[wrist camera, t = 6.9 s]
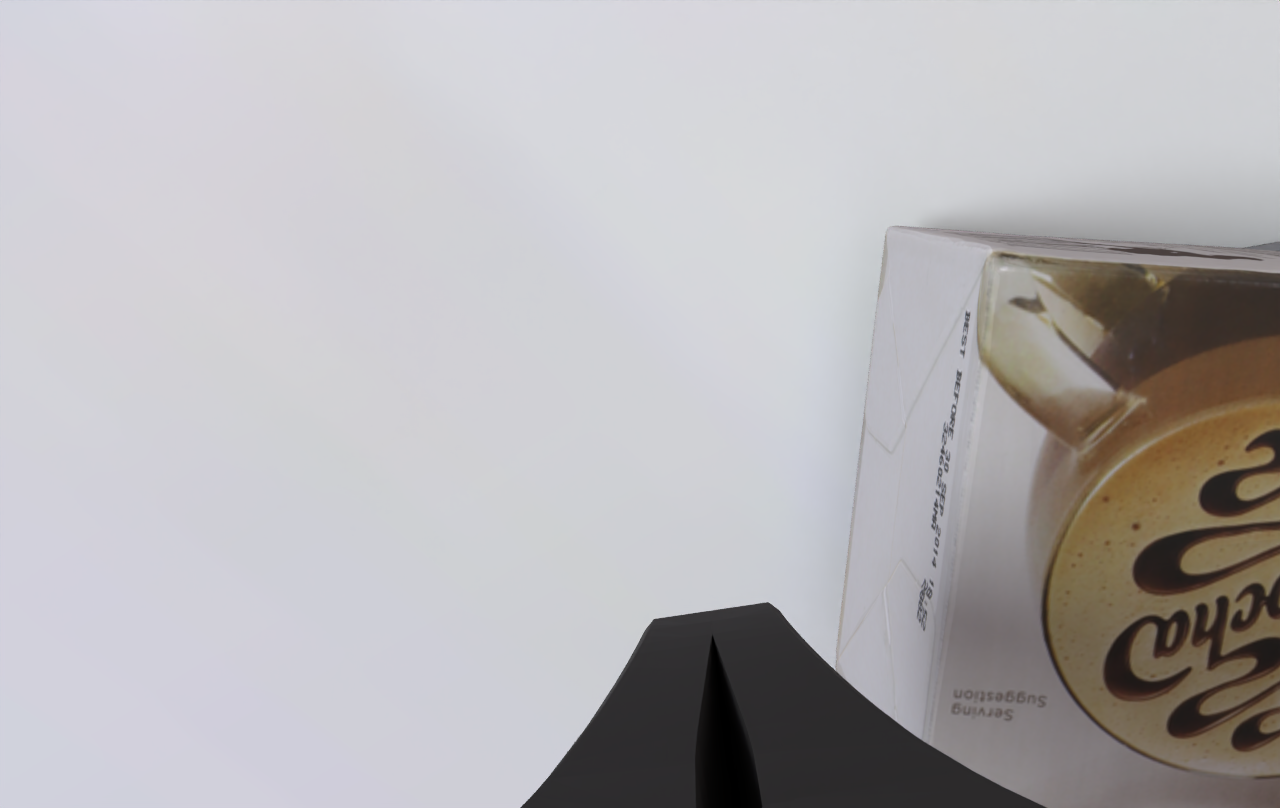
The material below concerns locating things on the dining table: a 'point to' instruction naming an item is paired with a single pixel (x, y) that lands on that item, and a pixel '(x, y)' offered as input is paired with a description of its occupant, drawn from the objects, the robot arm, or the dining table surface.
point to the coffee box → (1074, 516)
